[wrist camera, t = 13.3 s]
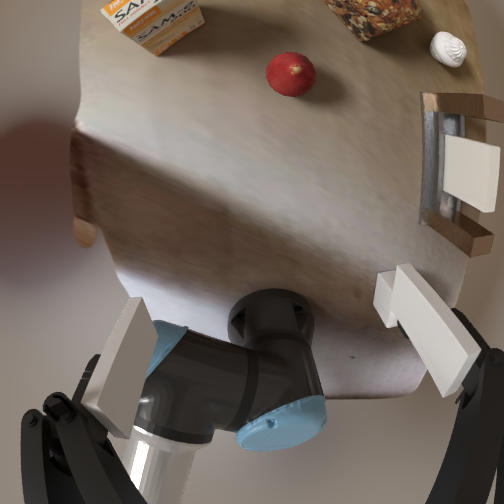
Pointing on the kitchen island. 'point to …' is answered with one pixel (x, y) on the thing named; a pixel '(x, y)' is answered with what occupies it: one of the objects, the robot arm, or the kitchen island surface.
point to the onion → (290, 74)
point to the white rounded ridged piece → (448, 49)
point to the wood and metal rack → (432, 196)
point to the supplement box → (154, 21)
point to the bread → (374, 15)
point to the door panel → (471, 171)
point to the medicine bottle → (386, 300)
